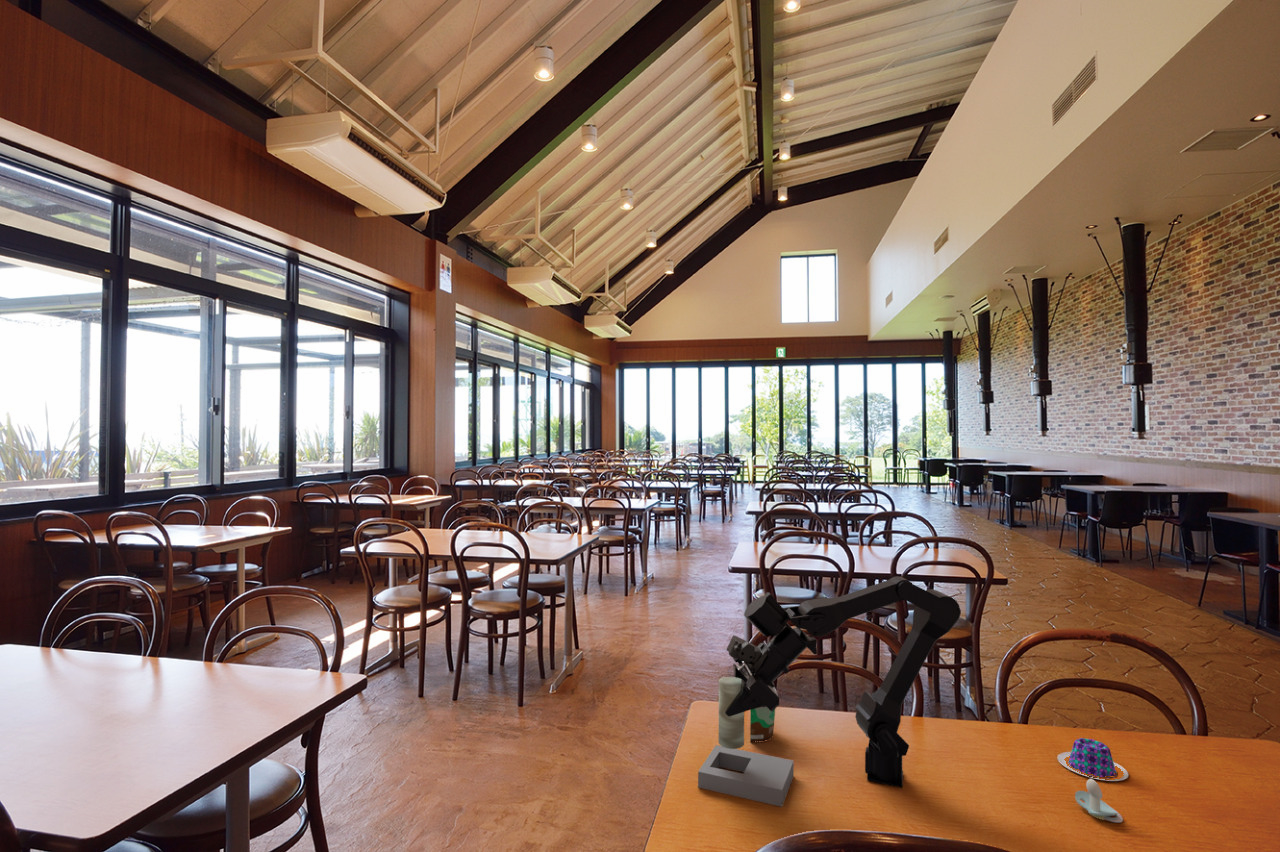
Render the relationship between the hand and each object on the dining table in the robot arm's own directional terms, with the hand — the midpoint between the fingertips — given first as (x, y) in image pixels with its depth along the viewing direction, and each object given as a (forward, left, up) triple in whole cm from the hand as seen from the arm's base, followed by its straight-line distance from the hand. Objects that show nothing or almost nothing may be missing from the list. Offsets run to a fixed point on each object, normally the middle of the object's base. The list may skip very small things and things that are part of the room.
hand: (724, 708), depth 128 cm
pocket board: (-4, -1, -13) cm, 14 cm away
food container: (-3, -23, -14) cm, 27 cm away
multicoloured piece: (-68, -36, -14) cm, 78 cm away
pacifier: (-65, -16, -14) cm, 69 cm away
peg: (-1, -1, -7) cm, 7 cm away
